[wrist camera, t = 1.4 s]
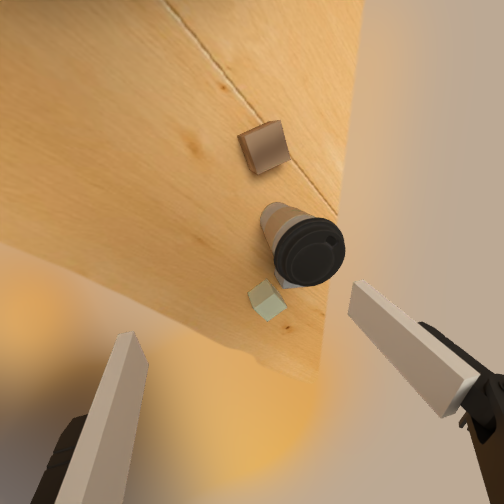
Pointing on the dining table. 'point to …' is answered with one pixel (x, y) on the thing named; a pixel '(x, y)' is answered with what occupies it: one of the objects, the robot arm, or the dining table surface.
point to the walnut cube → (264, 146)
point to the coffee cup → (302, 244)
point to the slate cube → (285, 282)
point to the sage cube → (266, 300)
